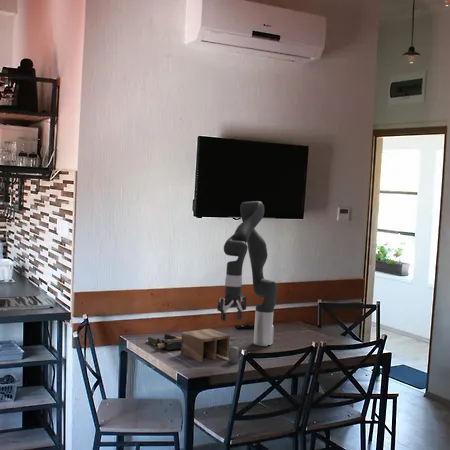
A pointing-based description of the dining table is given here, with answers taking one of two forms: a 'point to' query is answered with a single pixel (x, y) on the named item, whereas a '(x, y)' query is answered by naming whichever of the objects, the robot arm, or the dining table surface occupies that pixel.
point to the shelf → (204, 344)
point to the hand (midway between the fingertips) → (231, 320)
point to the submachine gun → (167, 342)
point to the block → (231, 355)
